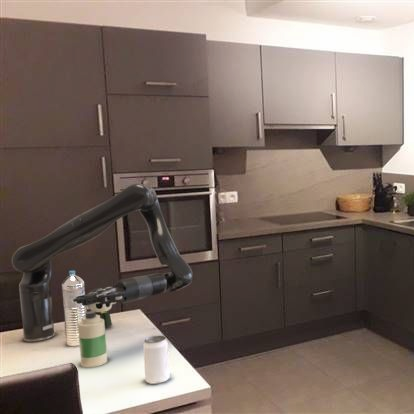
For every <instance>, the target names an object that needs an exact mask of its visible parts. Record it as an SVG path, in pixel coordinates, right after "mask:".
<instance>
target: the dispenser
mask: <svg viewBox="0 0 414 414" xmlns="http://www.w3.org/2000/svg"><path fill="white" fill-rule="evenodd" d="M78 329H79V344H80V345H79V356H80V365H81V366H82V367H83V368H94V367H95V368H96V367H99V366H102V365H104V364H106V363H107V362H108V349H107V348H108V347H107V335H106V326H105V322H104V319H102V318H100V315H96V311H91V310H89V311H87V312H86V316H85V317H83V318H82V321H81V322H79V323H78Z"/></svg>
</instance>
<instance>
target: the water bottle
mask: <svg viewBox="0 0 414 414" xmlns="http://www.w3.org/2000/svg"><path fill="white" fill-rule="evenodd" d="M85 286H86V284H85V280H83V278H82V277H80V276H78V275H77V274H76V270H69V271H68V276H67V277H66V278H65V279H64V280H63V281H62V282H61V290H62V303H63V320H64V330H65V341H66V345H67V346H69V347H80V344H79V329H78V323H79V322H81V321H82V318H83V317H85V316H86V312H88V309H87V308H86V306H83V305H82V303H80V304H78V303H77V302H74V301H73V299H76V297H77V296H81V295H86V290H85V289H86V288H85Z"/></svg>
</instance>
